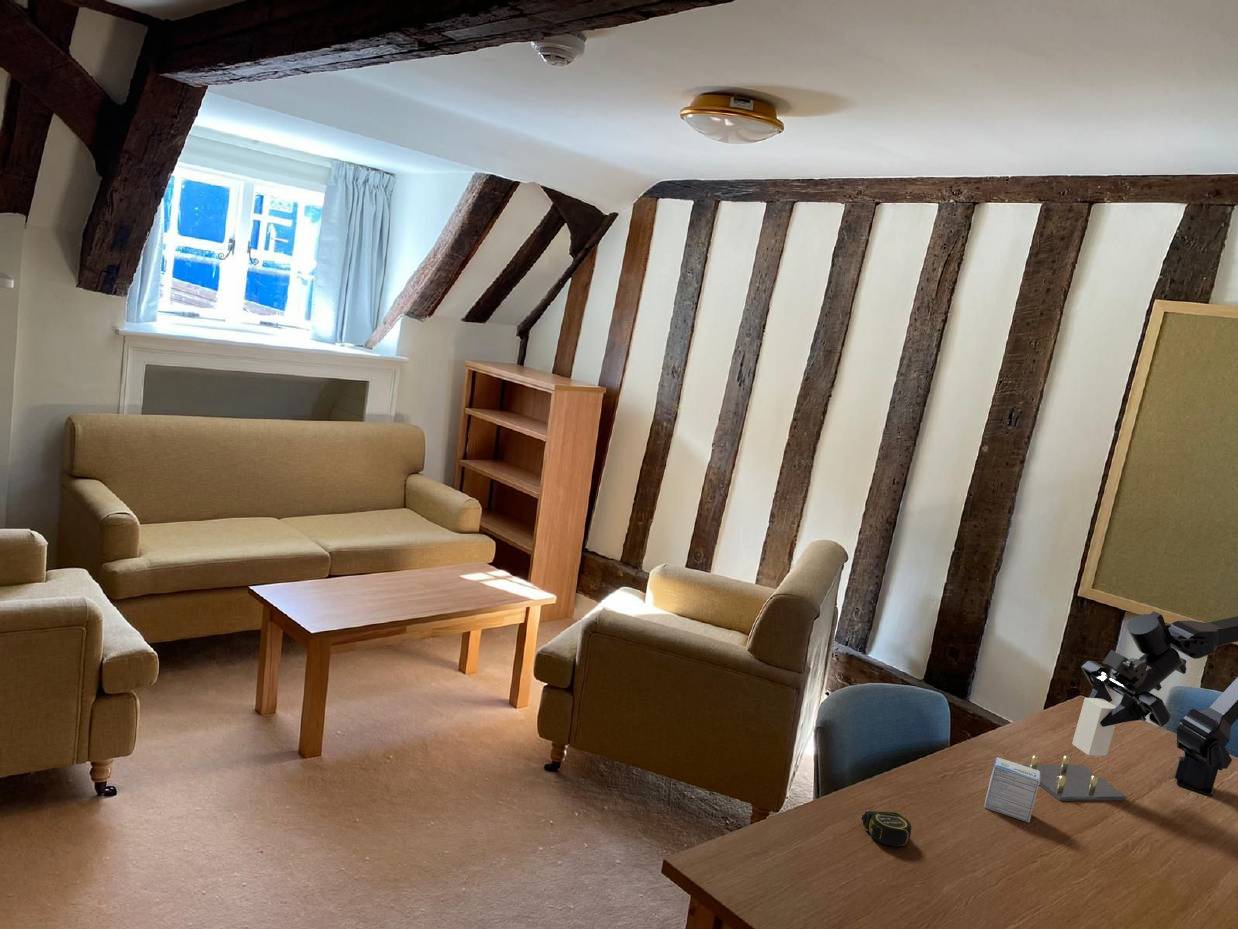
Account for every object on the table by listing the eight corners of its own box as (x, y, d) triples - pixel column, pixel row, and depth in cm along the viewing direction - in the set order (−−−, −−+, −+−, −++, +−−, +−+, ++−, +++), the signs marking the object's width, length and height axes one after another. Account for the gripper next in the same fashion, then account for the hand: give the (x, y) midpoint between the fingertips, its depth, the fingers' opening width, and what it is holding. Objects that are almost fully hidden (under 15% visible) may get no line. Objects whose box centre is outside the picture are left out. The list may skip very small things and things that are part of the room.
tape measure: (896, 828, 164) (901, 808, 163) (915, 852, 157) (920, 832, 156) (859, 826, 162) (863, 806, 162) (876, 850, 156) (881, 830, 155)
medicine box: (1030, 813, 176) (1041, 770, 175) (1029, 824, 172) (1040, 780, 171) (985, 798, 180) (996, 756, 178) (983, 808, 176) (994, 765, 174)
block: (1089, 744, 194) (1102, 698, 192) (1106, 755, 189) (1120, 709, 188) (1071, 744, 192) (1084, 697, 190) (1088, 755, 188) (1101, 708, 186)
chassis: (1081, 768, 200) (1085, 751, 199) (1125, 800, 188) (1130, 782, 188) (1017, 768, 195) (1022, 751, 194) (1059, 800, 183) (1064, 782, 183)
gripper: (1100, 623, 197) (1043, 670, 195) (1175, 660, 179) (1112, 713, 178) (1120, 660, 200) (1064, 708, 199) (1195, 701, 183) (1134, 753, 182)
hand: (1092, 719), depth 189 cm, fingers closed on block, 4 cm apart
